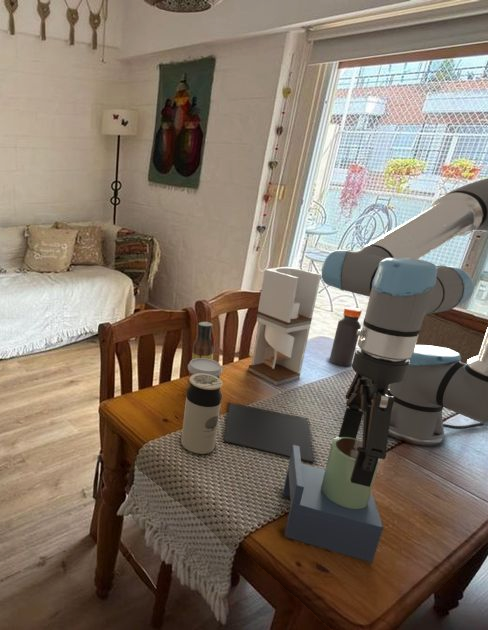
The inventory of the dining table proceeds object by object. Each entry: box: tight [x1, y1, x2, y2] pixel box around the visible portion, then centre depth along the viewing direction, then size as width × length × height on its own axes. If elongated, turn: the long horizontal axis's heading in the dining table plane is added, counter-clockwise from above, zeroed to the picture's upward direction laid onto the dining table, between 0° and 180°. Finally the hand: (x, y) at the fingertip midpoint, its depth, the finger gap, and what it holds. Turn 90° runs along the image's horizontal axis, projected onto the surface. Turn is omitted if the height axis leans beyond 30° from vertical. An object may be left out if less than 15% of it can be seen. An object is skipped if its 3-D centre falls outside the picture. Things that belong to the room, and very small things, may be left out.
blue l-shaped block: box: [282, 445, 384, 564], centre depth 84 cm, size 14×13×12 cm
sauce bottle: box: [191, 321, 214, 360], centre depth 137 cm, size 7×6×20 cm
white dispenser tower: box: [247, 265, 322, 386], centre depth 140 cm, size 11×11×35 cm
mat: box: [223, 402, 314, 464], centre depth 115 cm, size 20×20×1 cm
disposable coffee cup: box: [187, 358, 223, 387], centre depth 127 cm, size 10×10×12 cm
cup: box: [321, 436, 382, 509], centre depth 80 cm, size 8×8×10 cm
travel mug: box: [180, 373, 223, 455], centre depth 106 cm, size 8×8×18 cm
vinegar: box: [329, 306, 362, 367], centre depth 152 cm, size 7×7×20 cm
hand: (352, 459), depth 79 cm, fingers open, 13 cm apart
